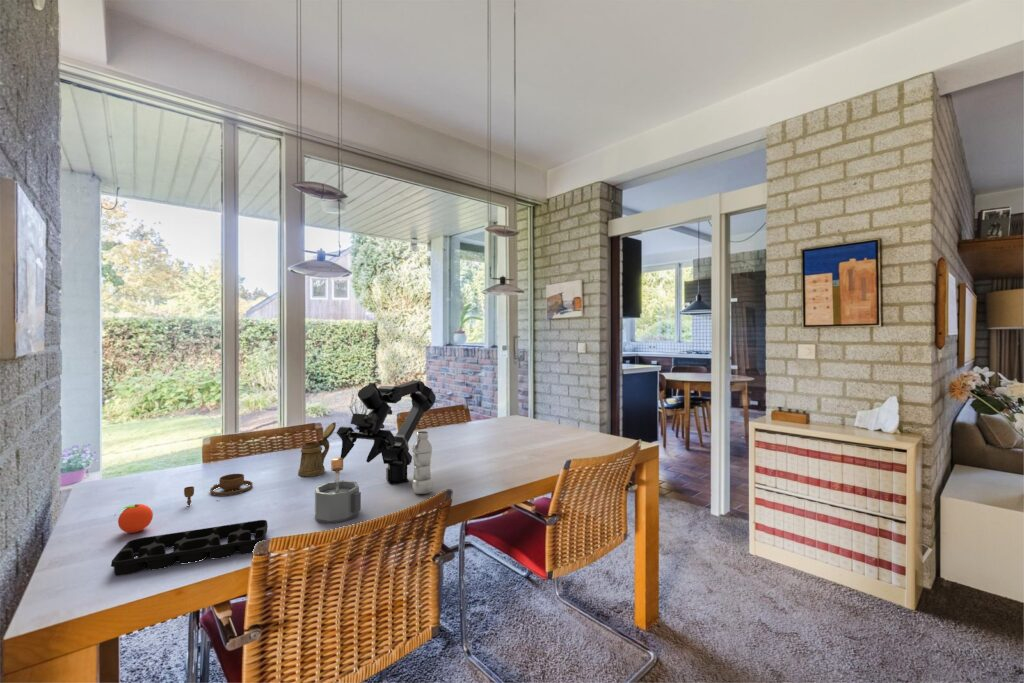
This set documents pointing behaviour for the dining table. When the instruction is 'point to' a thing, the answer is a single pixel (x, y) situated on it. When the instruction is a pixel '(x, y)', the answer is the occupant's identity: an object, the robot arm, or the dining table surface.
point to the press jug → (337, 502)
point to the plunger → (337, 475)
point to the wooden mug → (315, 454)
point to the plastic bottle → (422, 464)
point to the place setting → (223, 486)
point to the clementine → (135, 518)
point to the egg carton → (188, 546)
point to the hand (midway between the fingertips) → (354, 460)
